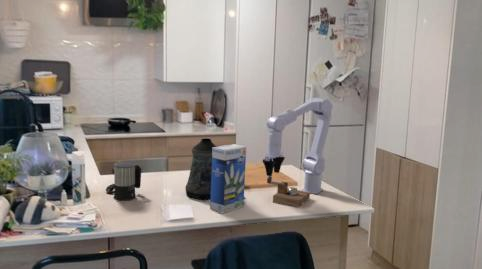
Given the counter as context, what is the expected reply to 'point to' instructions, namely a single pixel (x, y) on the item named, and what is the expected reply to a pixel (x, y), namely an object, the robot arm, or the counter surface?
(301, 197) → the mount
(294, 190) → the shiny metal cylinder
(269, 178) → the lock pin
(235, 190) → the string lights box
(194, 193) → the beer stein
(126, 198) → the milk frother
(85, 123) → the counter surface
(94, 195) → the counter surface
